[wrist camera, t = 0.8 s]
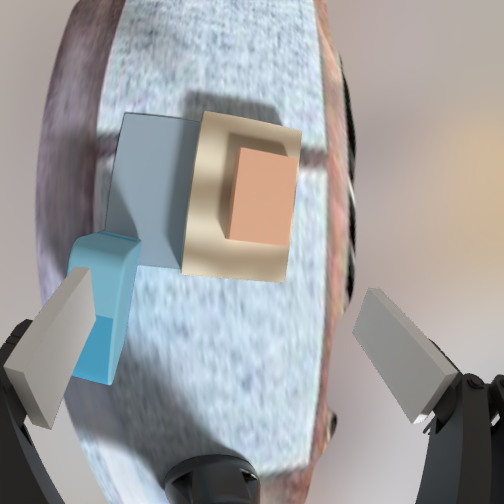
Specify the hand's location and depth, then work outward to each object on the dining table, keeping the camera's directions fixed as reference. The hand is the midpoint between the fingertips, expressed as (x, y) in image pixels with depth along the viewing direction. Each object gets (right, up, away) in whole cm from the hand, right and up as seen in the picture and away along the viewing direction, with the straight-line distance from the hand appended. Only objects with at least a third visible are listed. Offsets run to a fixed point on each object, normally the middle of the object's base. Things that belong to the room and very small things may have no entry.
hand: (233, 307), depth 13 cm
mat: (-11, +9, +18) cm, 23 cm away
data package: (-15, -1, +18) cm, 23 cm away
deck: (-1, +8, +21) cm, 23 cm away
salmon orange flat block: (+2, +8, +18) cm, 19 cm away
